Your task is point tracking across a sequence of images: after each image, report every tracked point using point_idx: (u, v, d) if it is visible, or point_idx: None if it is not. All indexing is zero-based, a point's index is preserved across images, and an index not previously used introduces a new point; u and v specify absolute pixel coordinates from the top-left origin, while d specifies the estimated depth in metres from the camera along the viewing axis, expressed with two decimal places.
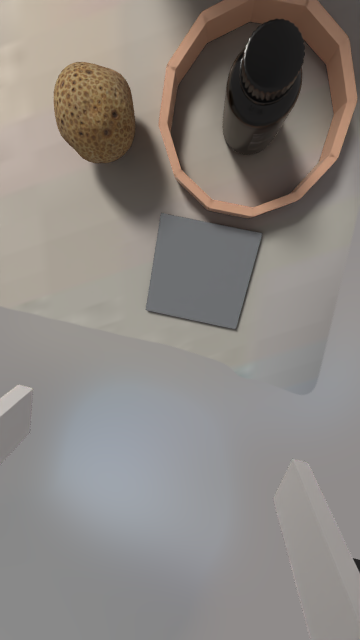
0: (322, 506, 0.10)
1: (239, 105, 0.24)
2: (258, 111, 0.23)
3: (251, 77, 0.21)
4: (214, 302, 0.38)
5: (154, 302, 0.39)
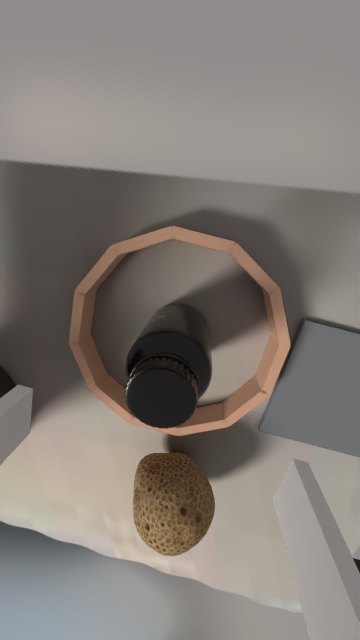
0: (322, 506, 0.10)
1: None
2: (199, 386, 0.19)
3: (178, 421, 0.17)
4: None
5: None
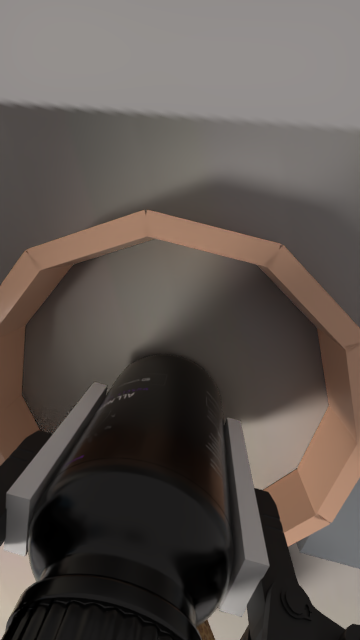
0: (241, 450, 0.12)
1: None
2: (204, 615, 0.07)
3: None
4: None
5: None
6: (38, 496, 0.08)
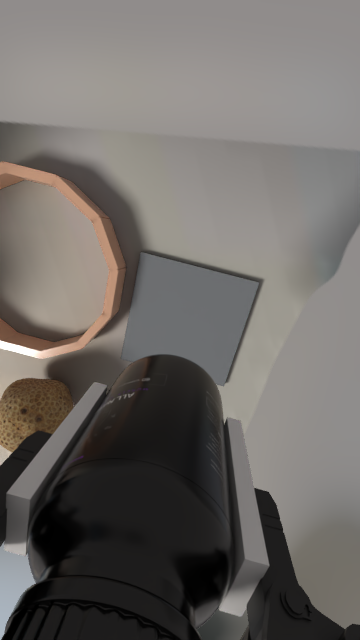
0: (240, 450, 0.12)
1: None
2: (204, 616, 0.07)
3: None
4: (220, 308, 0.30)
5: (215, 375, 0.33)
6: (38, 496, 0.08)
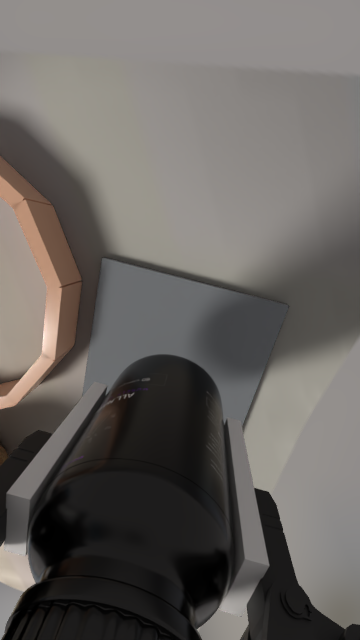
0: (241, 450, 0.12)
1: None
2: (205, 617, 0.07)
3: None
4: (227, 344, 0.20)
5: None
6: (38, 496, 0.08)
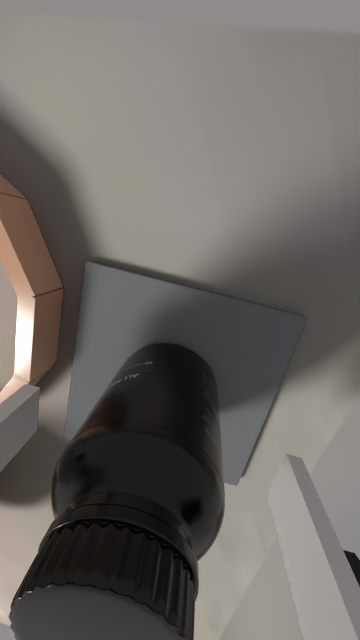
0: (314, 500, 0.10)
1: None
2: (199, 550, 0.09)
3: None
4: (233, 363, 0.17)
5: (223, 469, 0.19)
6: None
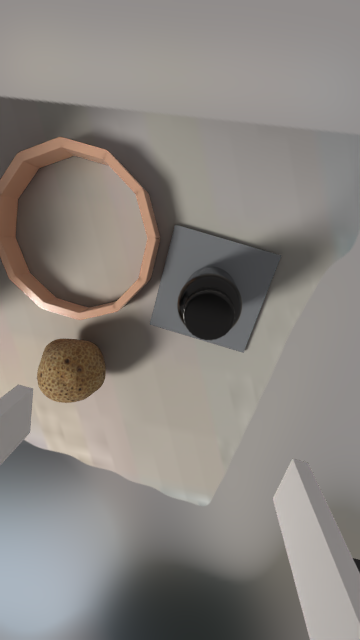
0: (322, 506, 0.10)
1: None
2: None
3: (220, 334, 0.23)
4: (244, 279, 0.33)
5: (236, 342, 0.36)
6: None
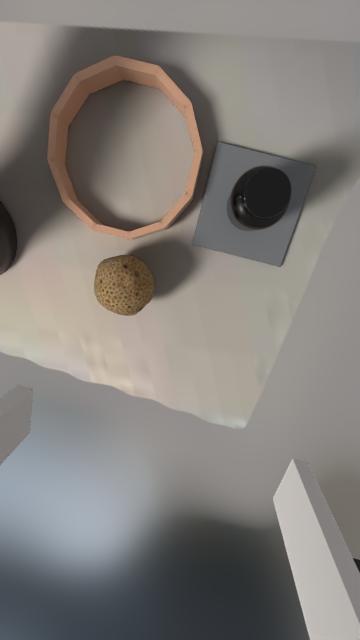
0: (322, 506, 0.10)
1: (276, 218, 0.29)
2: None
3: (277, 210, 0.26)
4: None
5: (273, 257, 0.39)
6: None
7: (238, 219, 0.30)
